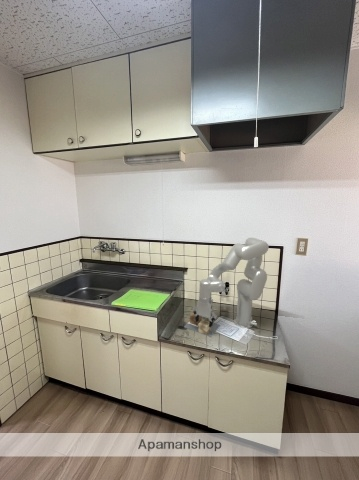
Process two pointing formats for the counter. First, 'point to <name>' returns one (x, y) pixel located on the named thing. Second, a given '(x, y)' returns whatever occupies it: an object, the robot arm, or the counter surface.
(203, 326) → the maple block
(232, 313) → the counter surface
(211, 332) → the build board
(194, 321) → the walnut block
